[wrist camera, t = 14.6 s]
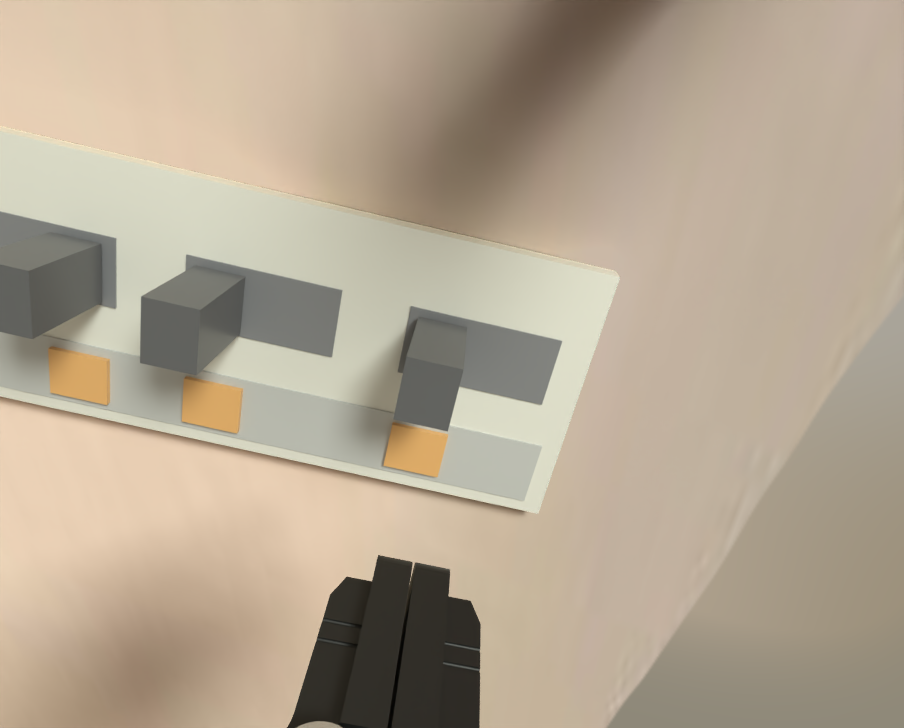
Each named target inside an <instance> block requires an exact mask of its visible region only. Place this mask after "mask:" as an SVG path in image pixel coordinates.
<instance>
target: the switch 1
mask: <svg viewBox="0 0 904 728" xmlns="http://www.w3.org/2000/svg"><path fill="white" fill-rule="evenodd" d="M100 303H102V266H101V243H97V242H92V241H88V240H84V239H79V238H75V237H71V236H66V235H62V234H58V233H53V232H48V233H45V234H42V235H39V236H35V237H32V238H29V239H25V240H22V241H19V242H16V243H12V244H9V245H6V246H3V247H0V332H3V333H7V334H12V335H16V336H21V337H25V338H30V339H34V338H36V337H38V336H40V335H42V334H43V333H45V332H47V331H49V330H51V329H53V328H55V327H57V326H59V325H60V324H62V323H64V322H66V321H68V320H70V319H72V318H74V317H76V316H77V315H79V314H81V313H83V312H85V311H87V310H89V309H91V308H93V307H94V306H96V305H98V304H100Z"/></svg>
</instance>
